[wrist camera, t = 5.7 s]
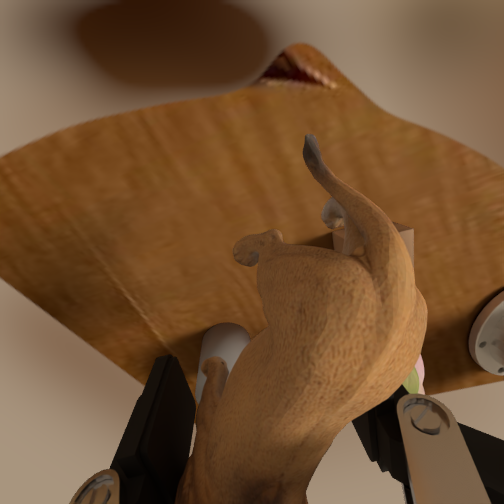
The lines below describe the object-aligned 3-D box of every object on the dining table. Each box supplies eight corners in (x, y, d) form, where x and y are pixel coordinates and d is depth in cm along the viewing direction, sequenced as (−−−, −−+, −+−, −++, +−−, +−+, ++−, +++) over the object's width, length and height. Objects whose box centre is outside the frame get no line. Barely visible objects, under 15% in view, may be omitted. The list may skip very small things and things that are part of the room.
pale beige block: (383, 218, 23) (413, 228, 19) (384, 257, 25) (413, 273, 21) (331, 231, 23) (352, 244, 19) (336, 269, 24) (356, 288, 21)
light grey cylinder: (244, 317, 25) (249, 360, 19) (255, 355, 27) (263, 406, 21) (195, 329, 25) (187, 377, 19) (209, 367, 27) (205, 421, 21)
